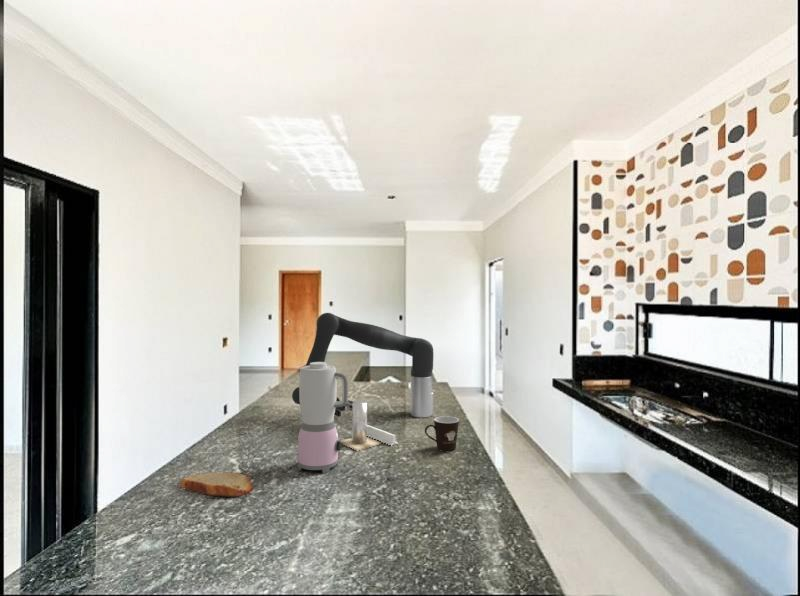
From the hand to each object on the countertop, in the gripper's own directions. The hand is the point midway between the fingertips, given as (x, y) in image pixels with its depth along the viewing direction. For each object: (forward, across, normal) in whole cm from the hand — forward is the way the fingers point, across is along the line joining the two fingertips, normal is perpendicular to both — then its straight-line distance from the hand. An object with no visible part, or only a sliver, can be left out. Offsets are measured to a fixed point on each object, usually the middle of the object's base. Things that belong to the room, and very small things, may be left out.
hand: (350, 411), depth 168 cm
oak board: (+6, 0, +10) cm, 12 cm away
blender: (+16, -21, +10) cm, 28 cm away
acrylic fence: (+6, +8, +10) cm, 15 cm away
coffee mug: (+28, +19, +10) cm, 35 cm away
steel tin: (+6, 0, +10) cm, 11 cm away
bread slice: (+10, -51, +11) cm, 53 cm away
